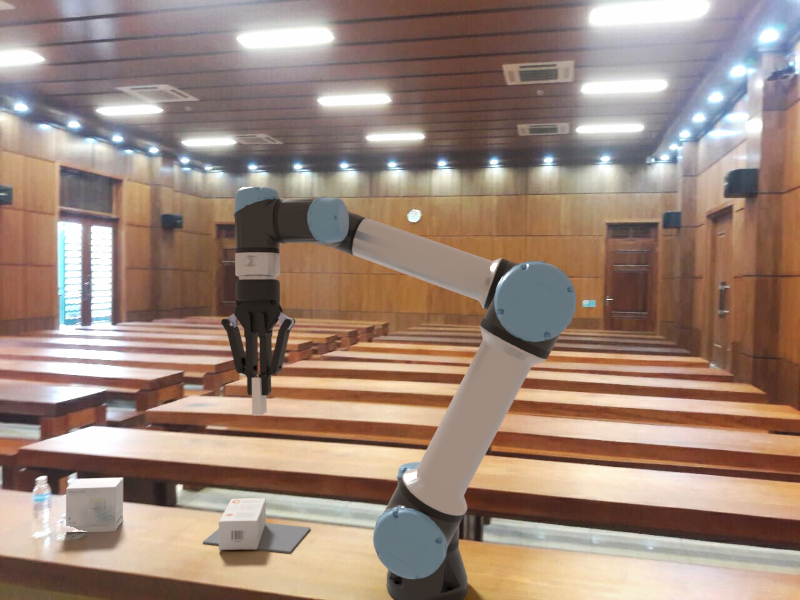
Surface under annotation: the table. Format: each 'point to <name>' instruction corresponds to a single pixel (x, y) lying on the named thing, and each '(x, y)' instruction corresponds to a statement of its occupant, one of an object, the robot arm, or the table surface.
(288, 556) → the table surface
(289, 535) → the mat
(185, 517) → the table surface
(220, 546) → the small box
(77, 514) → the skincare box
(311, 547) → the table surface
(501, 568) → the table surface
